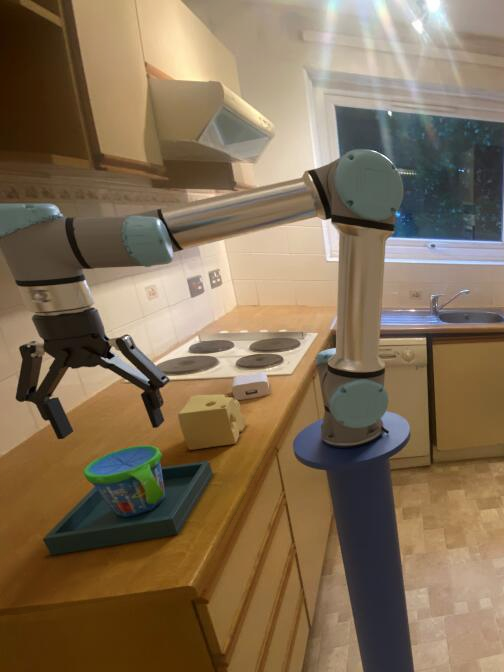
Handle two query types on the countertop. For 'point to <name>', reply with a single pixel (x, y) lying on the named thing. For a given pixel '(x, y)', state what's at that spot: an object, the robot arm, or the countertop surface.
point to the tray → (110, 529)
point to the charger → (250, 386)
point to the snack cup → (129, 479)
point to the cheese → (211, 421)
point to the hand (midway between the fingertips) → (113, 429)
